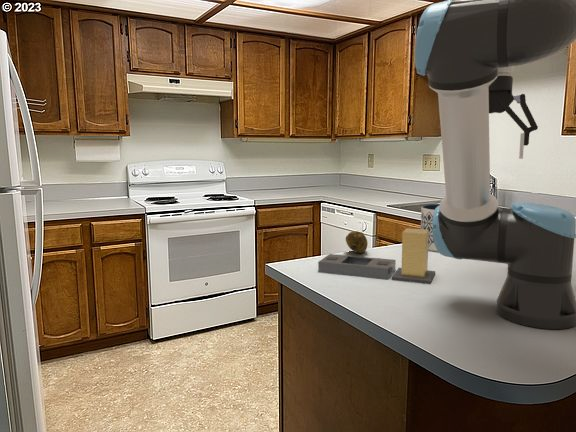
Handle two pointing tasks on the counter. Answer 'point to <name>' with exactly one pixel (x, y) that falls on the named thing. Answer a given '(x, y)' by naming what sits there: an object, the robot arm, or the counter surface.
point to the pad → (425, 280)
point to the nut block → (415, 252)
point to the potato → (357, 241)
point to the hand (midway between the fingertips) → (492, 158)
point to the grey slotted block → (357, 266)
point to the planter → (428, 223)
